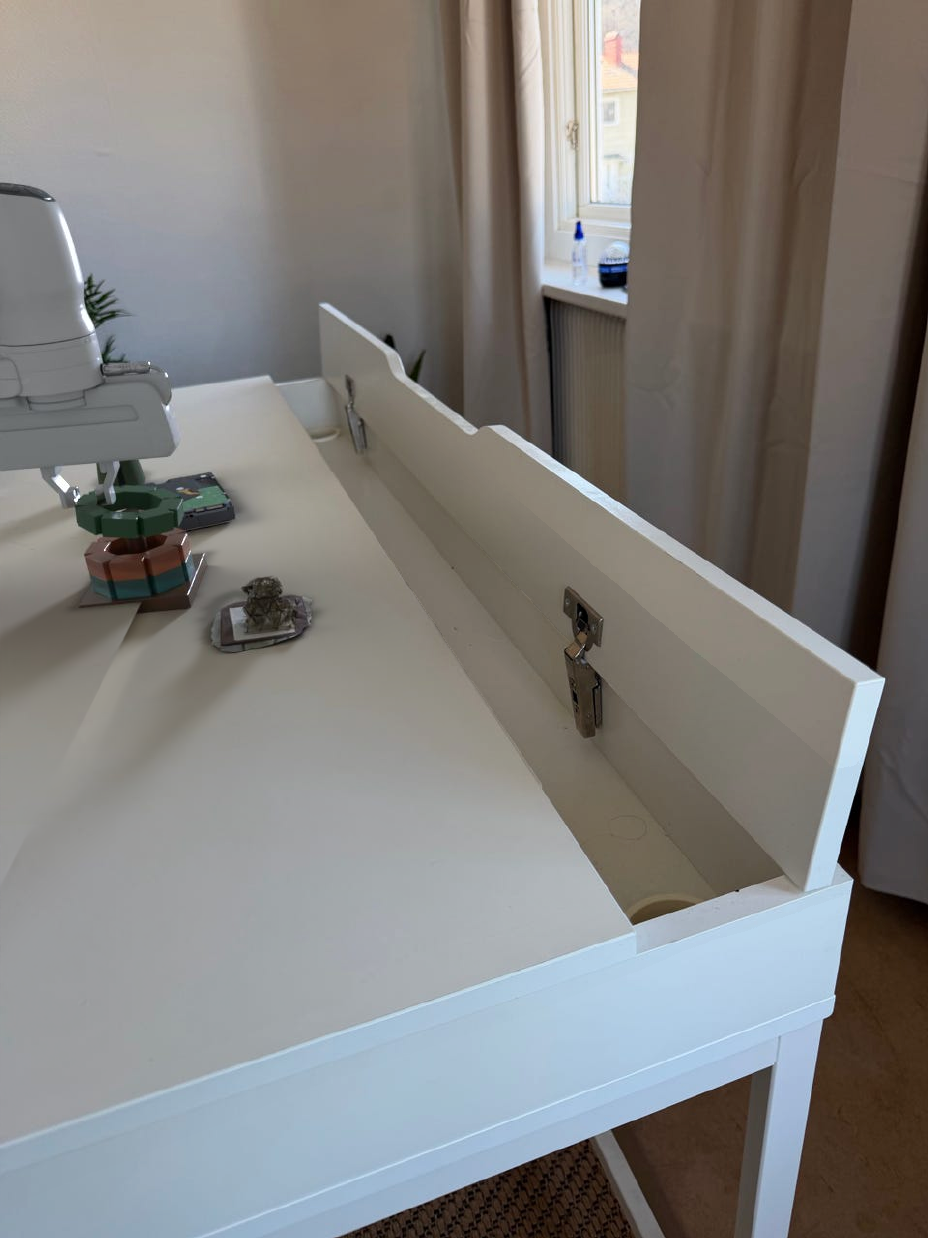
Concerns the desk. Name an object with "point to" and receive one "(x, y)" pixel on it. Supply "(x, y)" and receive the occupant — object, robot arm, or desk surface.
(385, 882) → the desk surface
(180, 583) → the ring stack
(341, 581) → the desk surface
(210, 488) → the disk drive
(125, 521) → the green ring
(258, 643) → the figurine on base
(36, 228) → the robot arm
